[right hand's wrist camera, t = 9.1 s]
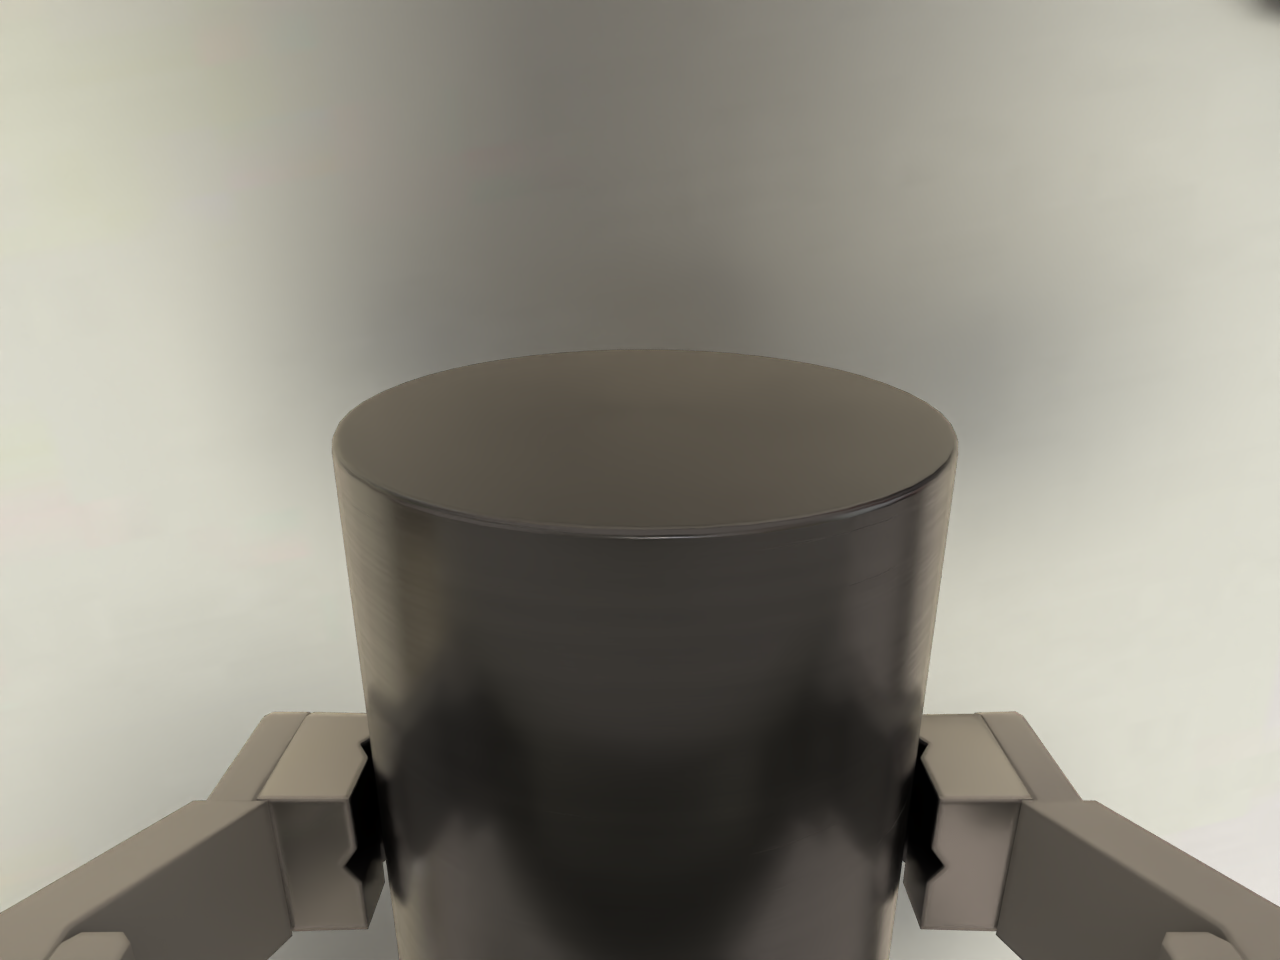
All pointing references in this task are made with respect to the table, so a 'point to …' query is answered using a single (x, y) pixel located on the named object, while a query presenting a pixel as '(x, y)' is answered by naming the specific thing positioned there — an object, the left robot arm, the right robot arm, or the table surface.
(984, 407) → the table surface
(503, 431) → the rod
